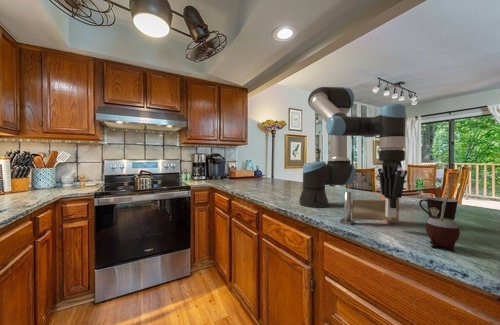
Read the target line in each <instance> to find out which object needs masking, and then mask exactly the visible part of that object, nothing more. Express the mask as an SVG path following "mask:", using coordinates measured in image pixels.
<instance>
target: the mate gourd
mask: <svg viewBox="0 0 500 325" xmlns="http://www.w3.org/2000/svg"><path fill="white" fill-rule="evenodd" d="M448 199H450V198H449V197H446V199H445V201H444V203H443V204H442V212H441V217H430V218H428V219H427V220H426V222H425V223H426V224H425V232H426V235H427V237H428V238H429V240H430V241H429V244H430V248H431V247H432V249H443V250H445V249H446V250H445V251H448V252H450V251H451V253H455V250H454V248H455V245H456V243H457V242H458V240H459V238H460V235H461V231H460V227H459V225H458V223H457V222H456V221H455V219H454V220H451V219H447V218H443V217H444V211H445V208H446V202H447V201H448Z"/></svg>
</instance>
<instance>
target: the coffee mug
mask: <svg viewBox="0 0 500 325" xmlns="http://www.w3.org/2000/svg"><path fill="white" fill-rule="evenodd" d="M446 198H447V197H446ZM446 198H445V197H437V196H436V197H435V196H430V197H426V198H425V199H424V198H423V199H420V200H419V202H418V204H419V207H420V208H421V209H422V211H424V212H425V213H426V214H427V215H428V217H429V218H430V217H441V212H442V204H443V203H444V201H445V199H446ZM422 202H426V203H427V204H426V205H427V210H428V211H427V210H426V209H425V208H424V207H423V205H422ZM458 203H459V202H458V200H457V199H453V198H449V199H448V201H447V202H446V208H445V211H444V217H443V218H447V219H451V220H454V221H455V218H456V213H457V208H458ZM429 218H428V219H429Z"/></svg>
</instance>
